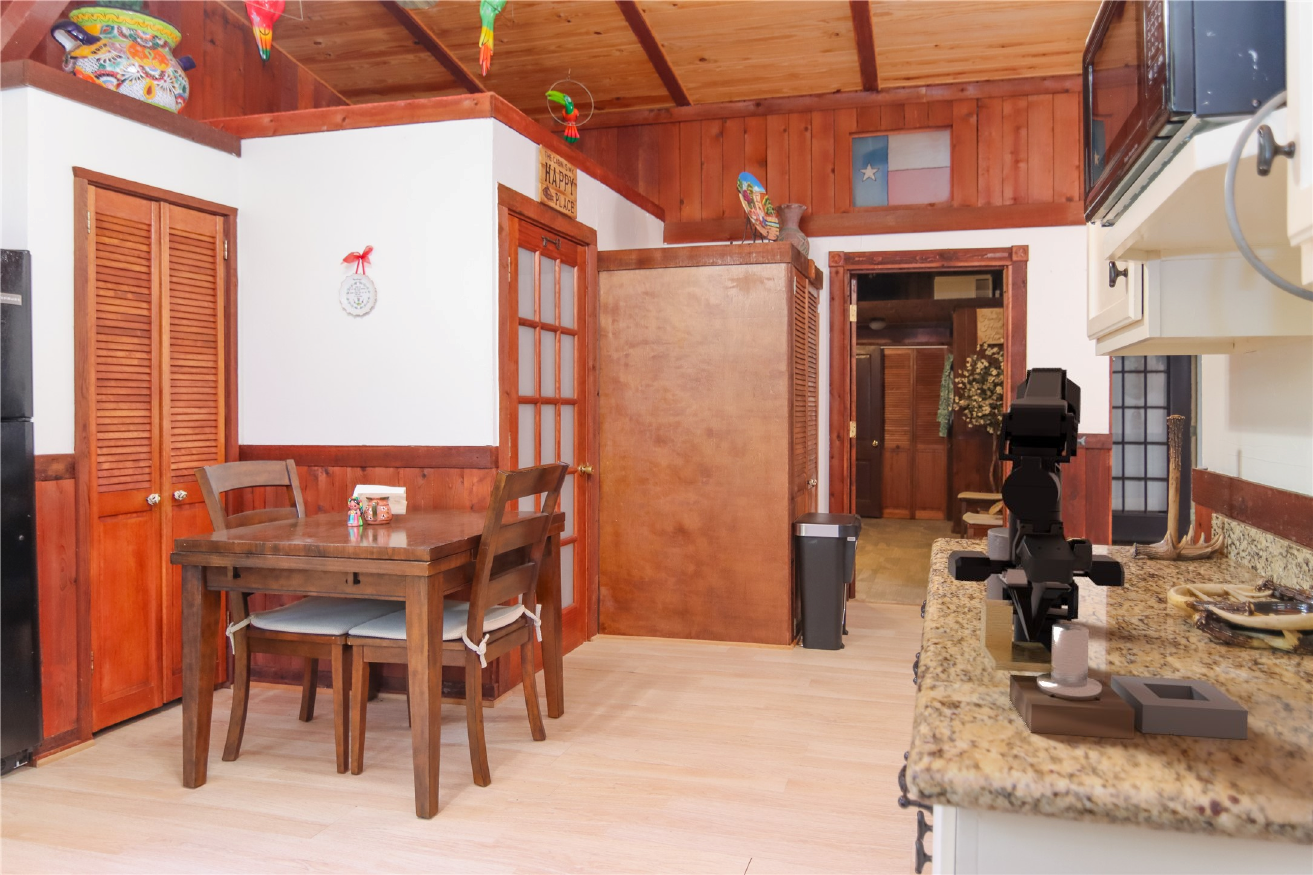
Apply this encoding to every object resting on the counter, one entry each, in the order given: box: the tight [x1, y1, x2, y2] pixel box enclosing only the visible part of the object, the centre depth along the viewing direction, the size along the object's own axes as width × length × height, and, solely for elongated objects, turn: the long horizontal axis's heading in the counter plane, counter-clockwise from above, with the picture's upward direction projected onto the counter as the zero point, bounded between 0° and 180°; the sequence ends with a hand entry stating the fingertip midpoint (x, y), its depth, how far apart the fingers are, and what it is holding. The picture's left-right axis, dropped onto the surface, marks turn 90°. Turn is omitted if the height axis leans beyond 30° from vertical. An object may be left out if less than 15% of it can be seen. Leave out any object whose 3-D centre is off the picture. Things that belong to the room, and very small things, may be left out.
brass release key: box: [979, 598, 1052, 674], centre depth 105 cm, size 9×7×6 cm
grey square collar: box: [1110, 674, 1249, 740], centre depth 99 cm, size 10×10×3 cm
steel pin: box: [1037, 622, 1102, 701], centre depth 98 cm, size 6×6×10 cm
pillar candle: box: [985, 526, 1014, 625], centre depth 143 cm, size 10×10×15 cm
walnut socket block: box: [1008, 674, 1135, 740], centre depth 99 cm, size 10×10×3 cm
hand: (1031, 639), depth 108 cm, fingers closed
